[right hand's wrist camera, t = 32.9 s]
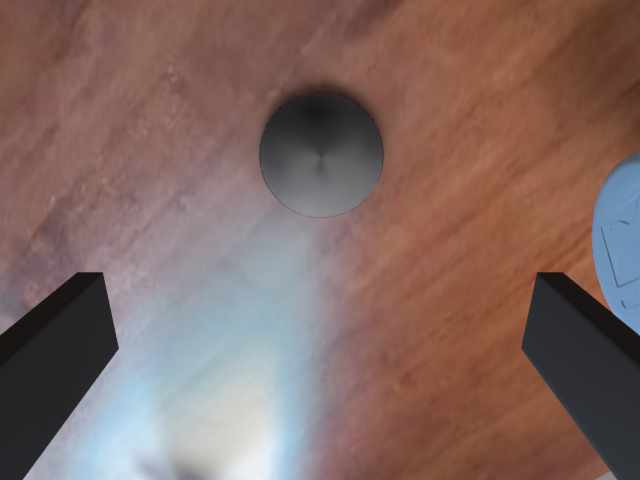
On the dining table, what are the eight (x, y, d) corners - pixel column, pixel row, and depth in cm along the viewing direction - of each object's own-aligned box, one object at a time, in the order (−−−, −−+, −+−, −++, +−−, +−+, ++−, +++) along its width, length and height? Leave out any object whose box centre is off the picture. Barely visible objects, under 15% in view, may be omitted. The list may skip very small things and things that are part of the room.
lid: (336, 64, 35) (336, 63, 34) (404, 168, 38) (408, 172, 37) (236, 141, 37) (233, 144, 36) (309, 234, 41) (308, 240, 39)
